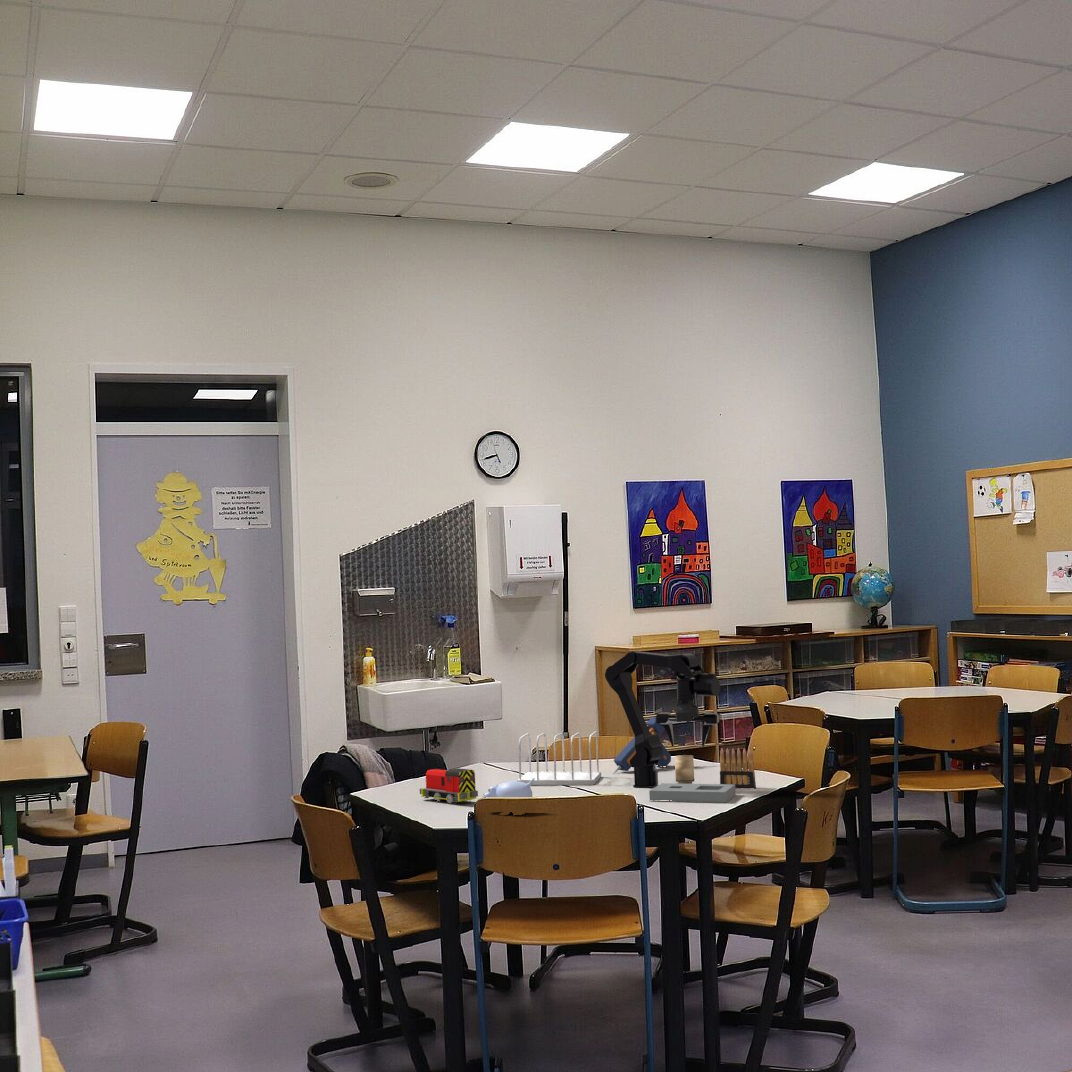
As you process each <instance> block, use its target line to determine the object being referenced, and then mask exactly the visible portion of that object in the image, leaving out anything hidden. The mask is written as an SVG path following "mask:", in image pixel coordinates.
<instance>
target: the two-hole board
mask: <svg viewBox="0 0 1072 1072" xmlns="http://www.w3.org/2000/svg"><path fill="white" fill-rule="evenodd" d="M736 791H737V790H736V788H735V784H720V783H692V784H680V783H678V782H675V783H674V782H673V783H671V782H664V783H663V782H662V783H660V784H658V785H656V786H654V787H652V788H651V789H650V790H649V801H650V800H669V801H670V800H672V801H690V802H689V803H707V804H709V803H712V804H713V803H714V804H715V803H717V804H718V803H719V804H726V803H727V802H729V801H730V800H732V798H734V797H735V796H736ZM733 796H734V797H733Z"/></svg>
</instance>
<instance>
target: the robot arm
mask: <svg viewBox="0 0 1072 1072" xmlns="http://www.w3.org/2000/svg"><path fill="white" fill-rule="evenodd" d="M639 665H644V666H645V665H646V666H652V667H653V666H654V667H660V668H666V669H668V670H670V671H672V672H674V674H673V675H671V677H670V678H669V679H670V680H671V681H676V696H677V697H676V699H677V703H676V707H675V714H672V713H671V711H669V712H667V711H664V712H661V711H660V712H658V713H656V715H655V717H656V723H661V724H660V726H663V727H664V728H665V730H664V731H666V733H667V736H668V739H669V742H670V744H671V747H674V746H675V738H674V736H675V735H674V728H673V722H677V723H681V722H686V723H690V722H704V724H702V739H701V744H702V745H701V748H704V747H705V743H706V741H707V738H708V735H709V732H710V730H711V727H712V728H713V727H714V726H715V725H716V724H719V722H720V716H719V713H718V712H705V713H704V714H700V708H699V705H697V696H700V697H701V696H702V697H718V696H719V695H720V691H721V683H720V680H719V678H718V677H717V673H715V672H714V673H713V672H711V673H706V672H705V671H704V669H703V667H701V664H700V663H699V660H698V658H697V656H696V655H695V654H694V653H691V652H690V653H681V654H680V653H679V654H665V653H663V654H662V653H655V652H647V651H641V650H629V651H628V652H627V653H626V654H625V655H624V656H623V657H622V658H620V659H618V660H617V661H616V662H614V663H613V664H612V665H610V666H608V667H607V668H606V670H605V672H604V678H605V681H606V682H607V684H608V686H609V688H610V689H612V691H614V692H615V693H616V694H617V696H618V698H619V701H620V703H621V706H622V709H623V711H624V713H625V716H626V718H627V721H628V724H629V726H630V727H631V731H632V732H633V737H635V743H634V747H635V751H636V754H635V755H634V756H633V757H632V758H631V759H630V765H631V768H633V776H634V777H633V779H634V784H633V785H632V787H633V788H655V787H656V786H658V785H659V774H658V773H659V771H658V770H657V766H656V765H657V764H658V762H659V759H660V757H661V756H662V753H663V749H662V746H664V744H663V743H662V742H660V741H661V740H660V739H659V736H658V734H656V735H653V734H652V733H651V732H650V731H649V730H650V728H649V727H648V725H647V722H646V720H645V717H644V715H643V711H642V710H641V708H640V705H639V702H638V701H637V698H636V695H635V693H634V691H633V675H632V674H633V673H634V672H635V671H636V670H637V668H638V666H639ZM661 743H662V744H663V745H662V744H661ZM657 784H658V785H657Z"/></svg>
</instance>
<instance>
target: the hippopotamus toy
mask: <svg viewBox="0 0 1072 1072" xmlns="http://www.w3.org/2000/svg"><path fill="white" fill-rule="evenodd" d="M534 779H535V778H533V779H532V780H531V781H530V782H529V783H527V784H526V783H523V782H518V781H517V780H510V781H504V782H503V783H499V785H498V784H496V785H490V787H489V788H488V789H487V791H485V792H482V794H483V795H482V798H483V799H485V798H486V797H532V798H533V791H532V790H533V789H532V788H531V787H532V786H533V785H532V784H533V781H534Z"/></svg>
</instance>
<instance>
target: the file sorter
mask: <svg viewBox="0 0 1072 1072" xmlns="http://www.w3.org/2000/svg"><path fill="white" fill-rule="evenodd" d="M542 736H543V737H544V753H545V754H544V755H545V756H544V758H545V759H544V760H545V771H539V769H540V768H539V767H540V763H539V762H540V761H539V759H540V758H539V757H540V756H539V740H540V737H542ZM560 736H561V741H562V742H561V744H562V745H561V746H562V771H557V755H556V753H557V751H556V741H557V738H558V737H560ZM564 736H565V734H564V732H558V733H557V734H556V735H554V737H553V771H548V769H549V768H548V747H547V744H548V743H547V734H546V733H545V732H542V733H540V734H538V735H537V737H536V742H535V743H536V747H535V748H536V771H532V759H531V758H532V754H531V753H532V752H531V750H532V749H531V747H532V746H531V734H530V733H529V732H527V733H524V734H523V735H522V736H520V737H519V739H518V772H519V777H518V779H516V781H518V782H523V783H526V784H527V783H529V782H530V781H531V780H532V779H533V778H535V779H534V781H533V784H532V785H531V786H594V785H595V784H596V783H597V782H598V780H599V779H600V778H602V771H599V763H600V762H599V736H598V731H596V730H595V731H593V732H592V733H591V734H590V735H589V738H588V757H589V758H588V759H589V764H588V765H589V771H582V770H583V769H582V765H583V764H582V740H581V739H582V736H581V733H580V731H579V732H576V733H575V734H573V735H571V738H570V757H571V771H565V769H566V767H565V737H564ZM577 736H578V744H579V745H578V747H579V753H578V754H579V771H574V747H573V745H574V744H573V743H574V737H577ZM593 736H595V745H596V746H595V747H596V753H595V754H596V771H592V737H593ZM526 737H528V771H527V772H526V773H524V774H523V775H522V757H521V756H522V754H521V751H522V750H521V744H522V743H521V742H522V739H524V738H526Z"/></svg>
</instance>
